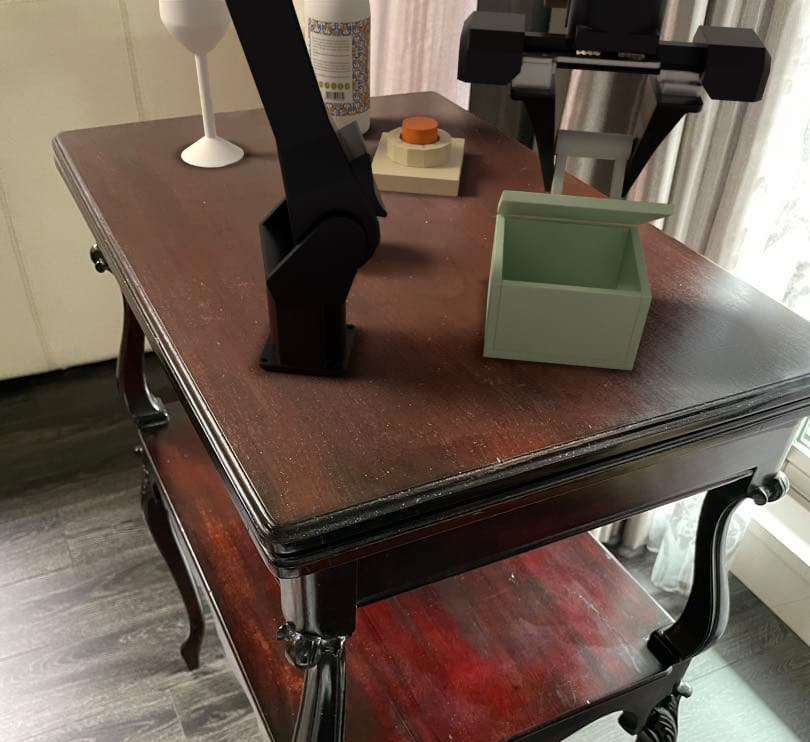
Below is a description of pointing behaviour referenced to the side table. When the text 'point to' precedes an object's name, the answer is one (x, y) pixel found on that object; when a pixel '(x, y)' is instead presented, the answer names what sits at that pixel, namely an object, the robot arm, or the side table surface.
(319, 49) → the bath foam
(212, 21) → the champagne flute
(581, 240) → the compartment
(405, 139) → the button
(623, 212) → the compartment lid
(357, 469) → the side table surface
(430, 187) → the control block
